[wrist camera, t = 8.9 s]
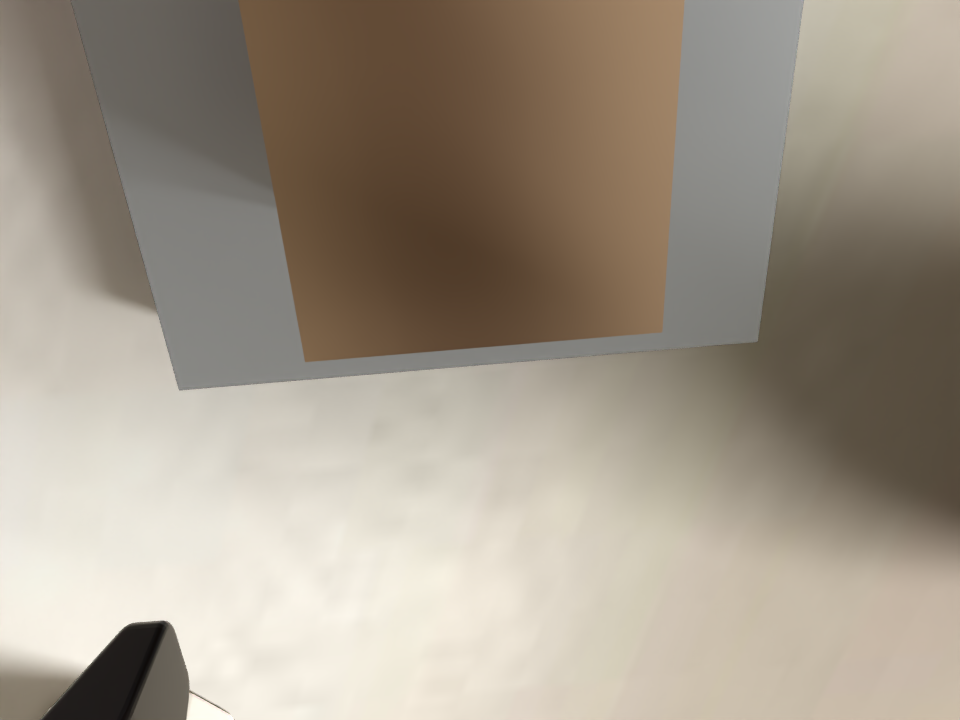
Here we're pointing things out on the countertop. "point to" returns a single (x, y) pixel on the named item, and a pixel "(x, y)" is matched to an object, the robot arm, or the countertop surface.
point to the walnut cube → (468, 167)
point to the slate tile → (254, 219)
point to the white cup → (203, 710)
